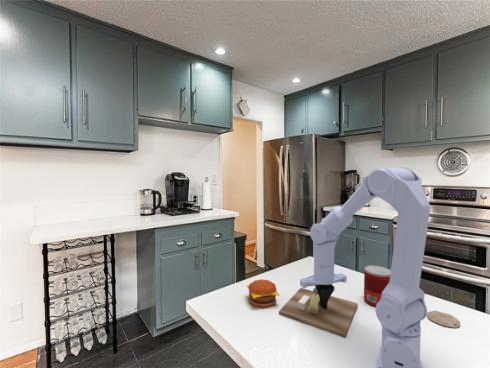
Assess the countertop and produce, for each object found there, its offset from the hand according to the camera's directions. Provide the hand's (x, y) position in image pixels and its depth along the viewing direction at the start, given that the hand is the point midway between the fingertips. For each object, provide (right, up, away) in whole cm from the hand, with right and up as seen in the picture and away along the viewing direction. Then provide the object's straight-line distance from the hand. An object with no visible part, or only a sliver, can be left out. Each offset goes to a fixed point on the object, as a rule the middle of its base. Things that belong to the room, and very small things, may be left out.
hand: (323, 307), depth 74 cm
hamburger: (-18, -2, +8) cm, 20 cm away
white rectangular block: (-5, -1, +3) cm, 6 cm away
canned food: (+20, -2, +7) cm, 21 cm away
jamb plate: (0, -2, +2) cm, 3 cm away
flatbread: (+34, -3, -2) cm, 34 cm away
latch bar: (-1, -1, +3) cm, 3 cm away
